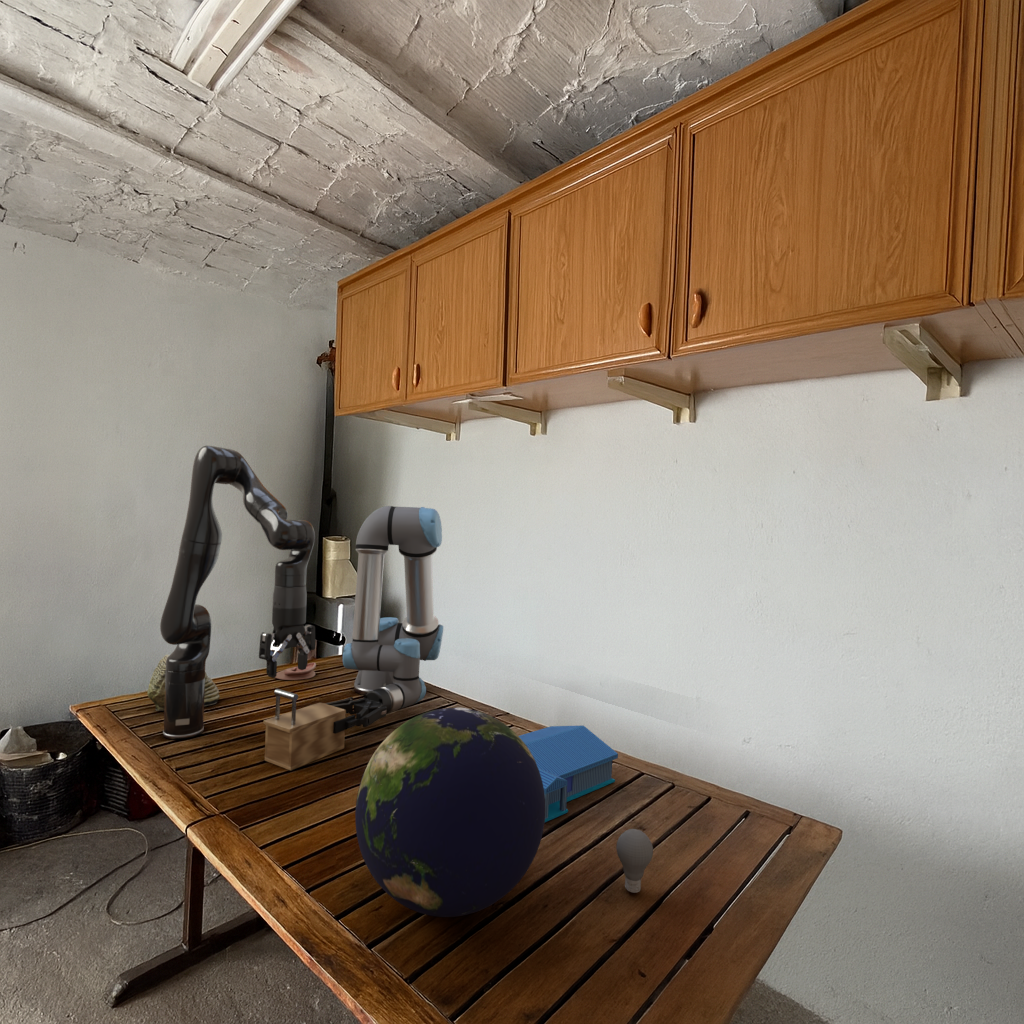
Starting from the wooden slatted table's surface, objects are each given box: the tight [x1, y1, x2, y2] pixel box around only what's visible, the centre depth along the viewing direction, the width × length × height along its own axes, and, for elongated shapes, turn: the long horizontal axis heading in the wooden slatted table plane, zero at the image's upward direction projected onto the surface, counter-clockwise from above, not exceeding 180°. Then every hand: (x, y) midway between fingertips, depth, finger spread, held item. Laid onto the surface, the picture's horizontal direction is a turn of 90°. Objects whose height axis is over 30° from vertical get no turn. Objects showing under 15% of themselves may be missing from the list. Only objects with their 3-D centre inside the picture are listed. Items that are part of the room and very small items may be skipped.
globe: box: [354, 707, 546, 918], centre depth 101 cm, size 30×30×30 cm
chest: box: [264, 713, 347, 771], centre depth 155 cm, size 16×9×9 cm, turn 149°
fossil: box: [147, 654, 221, 712], centre depth 185 cm, size 9×18×15 cm, turn 132°
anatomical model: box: [274, 662, 317, 681], centre depth 220 cm, size 13×4×12 cm
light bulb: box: [615, 828, 654, 894], centre depth 106 cm, size 6×6×10 cm
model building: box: [518, 725, 619, 823], centre depth 140 cm, size 39×24×10 cm, turn 132°
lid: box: [262, 688, 347, 733], centre depth 155 cm, size 17×9×8 cm, turn 149°
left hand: (287, 672), depth 149 cm, fingers open, 8 cm apart
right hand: (320, 723), depth 159 cm, fingers closed on chest, 9 cm apart
